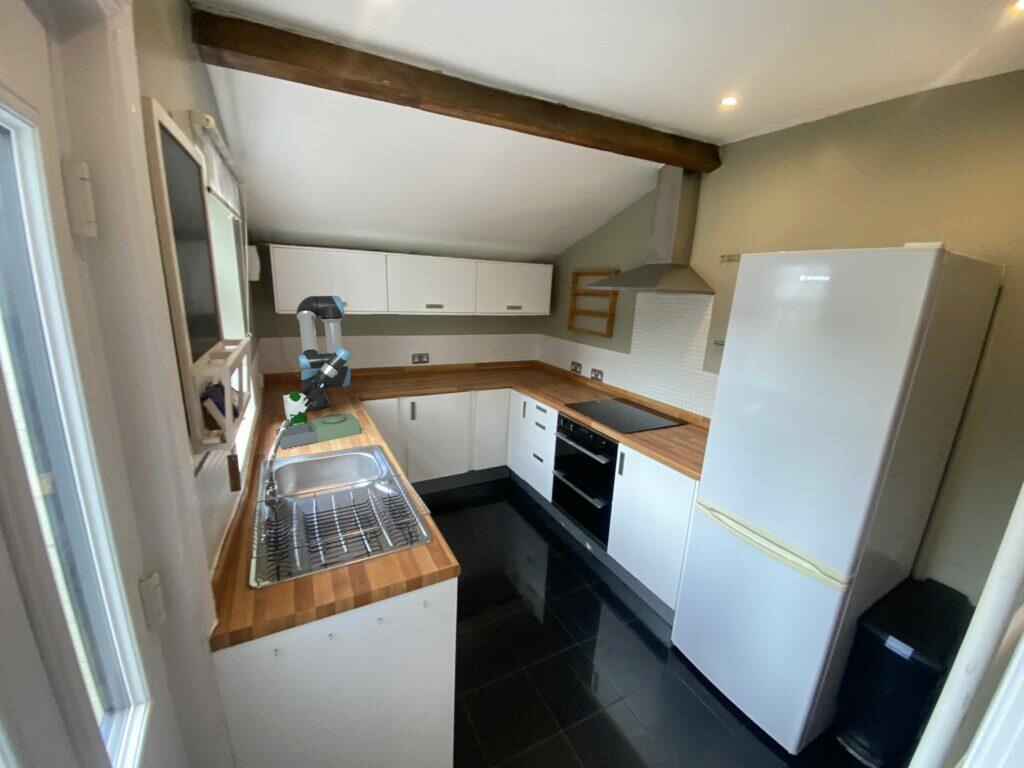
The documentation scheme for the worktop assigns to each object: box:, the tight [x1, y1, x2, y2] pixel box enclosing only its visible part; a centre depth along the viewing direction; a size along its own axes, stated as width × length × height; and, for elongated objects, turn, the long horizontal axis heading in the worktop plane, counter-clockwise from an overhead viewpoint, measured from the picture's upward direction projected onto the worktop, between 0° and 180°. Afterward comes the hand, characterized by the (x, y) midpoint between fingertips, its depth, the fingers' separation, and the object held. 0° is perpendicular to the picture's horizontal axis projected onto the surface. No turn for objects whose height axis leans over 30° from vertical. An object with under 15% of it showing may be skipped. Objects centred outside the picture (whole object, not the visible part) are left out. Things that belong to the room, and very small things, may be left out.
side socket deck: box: [275, 412, 361, 450], centre depth 192 cm, size 34×15×9 cm, turn 127°
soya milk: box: [282, 390, 308, 427], centre depth 200 cm, size 9×9×20 cm
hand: (297, 407), depth 199 cm, fingers open, 13 cm apart
